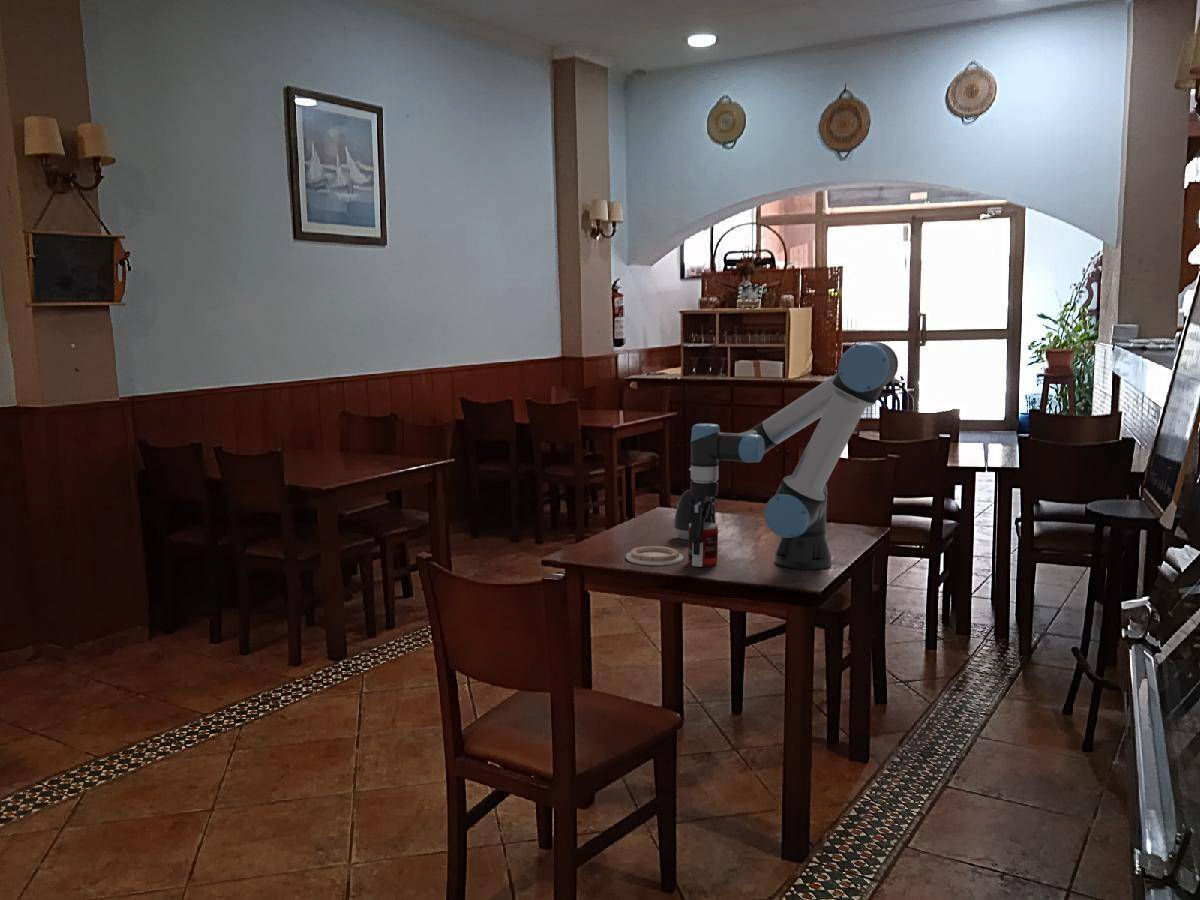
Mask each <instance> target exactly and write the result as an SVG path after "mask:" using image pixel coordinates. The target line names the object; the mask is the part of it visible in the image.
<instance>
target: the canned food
mask: <svg viewBox="0 0 1200 900" xmlns="http://www.w3.org/2000/svg"><path fill="white" fill-rule="evenodd" d="M690 531H691V523H690V524H689V536H688V540H687V541H688V546H687V548H688V551H687V561H688V563H689V565H690V566H692V542H689V539H690ZM718 539H719V525H718V524H717V523H716V524H715V523H711V522H705V523H704V530H703V536H702V542H703V564H702V567H701V568H709V567H714V566H716V565H717V563H718V545H719V543H718V541H719V540H718ZM696 567H698V568H700V567H699V566H696Z"/></svg>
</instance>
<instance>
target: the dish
mask: <svg viewBox="0 0 1200 900" xmlns="http://www.w3.org/2000/svg"><path fill="white" fill-rule="evenodd" d="M625 559H627V560H626V561H628V562H630V563H633V564H636V565H641V566H642V565H643V566H656V567H657V566H658V567H659V566H670V565H677V564H679V563H682V562H683V561H684V555H683V554H682V553H680V552H679V551H678V549H676V548H671V547H668V546H659V545H658V546H657V545H655V546H653V545H651V546H650V545H649V546H640V547H634V548H633V549H631V550H630V551H629V552H627V553H626V554H625Z"/></svg>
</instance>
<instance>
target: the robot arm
mask: <svg viewBox="0 0 1200 900" xmlns="http://www.w3.org/2000/svg"><path fill="white" fill-rule="evenodd" d="M898 368H899V361H898V357H897V354H896V352H895V351H894V350H893V348H891V347H890V346H889V345H887V344H885V343H883V342H879V341H878V342H877V341H862V342H858V343H855V344H854V345H852V346H850V347H849V348H848V349H847V350H845V352H844V353H843V354H842V356H841V358H840V360H839V362H838V371H837V373H835V374H834V375H833V376H831V377H829V378H828V379H826V380H824V381H822V382H821V383H820V384H819V385H817V386H816V387H814V388H812V389H811V390H808V391H807V392H806V393H805V394H803V395H801V396H799V397H798V398H797V399H796V400H794V401H792V402H791V403H789V404H787V405H786V406H784V407H783V408H781V409H779V410H778V411H777V412H775V413H774V414H772V415H770V417H768V418H766V419H764V420H763V421H762V422H760V423H758V424H756V425H755V426H754V427H752V428H751V429H748V430H745V431H743V432H739V433H738V432H737V433H735V432H723V431H721V430H720V425H719V424H716V423H696V424H694V425H692V427H691V435H690V467H689V468H688V471H690V479H691V481H690V484H689V485H690V486H689V490H690V494H691V495H693V496H696V497H697V499H696V502H695V505H694V504H693V505H692V520H691V531H690V539H689V542H692V565H691V566H692V567H697V566H699V567H698V568H703V567H702V564H703V542H702V536H703V530H704V523H705V522H711V523H715V524H717V523H716V522H717V520H716V498H715V497H717V496H718V495H719V482H718V480H719V472H720V471H719V470H720V469H719V466H720V465H719V462H720V461H727V462H728V461H729V462H737V463H738V462H740V463H746V464H749V463H760V462H761V461H763V458H764V456H765V454H767V453H768V452H769V451H770V450H771V449H773V448H774V447H776V446H777V445H779V444H780V443H782V442H785V440H787V439H788V438H790V437H791V436H793V435H795V434H796V433H798V432H799V431H801V430H802V429H803V430H804V429H805V428H806V427H807V426H809V425H811V424H813V423H814V422H815V421H817V420H819V419H820V420H819V421H818V423H817V426H816V427H815V429H814V431H813V433H812V435H811V437H810V440H809V441H808V443H807V444H806V446H805V449H804V451H803V453H802V455H801V456H800V459H799V461H798V462H797V465H796V466H795V468H794V471H793V472H792V474H791V475H787V476H784V477H783V478H782V481H781V483H780V484H779V486H778V489H777V490H776V493H775V495H774V496H772V497H771V498H770V499H769V500H768V502H767V503H766V505H765V508H764V520H765V524H766V525H767V527H768V529H769V530H771V532H772V533H774V534H775V535H776V536H779V537H780V539H779V542H778V545H777V548H776V551H775V553H774V563H776V564H777V565H778V566H782V567H784V568H788V569H796V570H822V569H826V568H829V567H831V565H832V554H831V552H830V551H831V550H830V549H829V548H830V547H829V544H828V541H827V538H826V533H827V532H826V531H827V510H828V509H827V506H828V503H827V502H828V486H827V482H828V480H829V479H830V477H831V475H832V472H833V470H834V469H835V467H836V465H837V463H838V461H839V459H840V457H841V455H842V454H843V452H844V450H845V448H846V446H847V445H848V442H849V440H850V438H851V437H852V434H853V432H854V431H855V429H856V428H857V425H858V423H859V421H860V419H861V418H862V416H863V413H864V412H865V410H866V408H868V407H871V406H874V405H875V404H876V402H877V401H878V398H879V396H880V395H881V393H882V391H883V389H884V388H885V386H886V385H888V384H889V383H890V382H891V381H892V380H893V379H894V378H895V376H896V375H897V372H898V370H899V369H898Z"/></svg>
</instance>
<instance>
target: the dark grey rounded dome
mask: <svg viewBox="0 0 1200 900" xmlns="http://www.w3.org/2000/svg"><path fill="white" fill-rule="evenodd" d="M696 499H697V497H696V496H693V495H691V494H690V489H687V490H685V491H684V492H683V493H682V495H681V496H680V497H679V501H678V503H677V507H676V511H675V513H674V519H673V528H674V531H675V534H676V535H677V536H678V537H679V539H681V540H685V541H688V536H689V524H690V523H691V520H692V505H693V504H694V505H695V502H696Z"/></svg>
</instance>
